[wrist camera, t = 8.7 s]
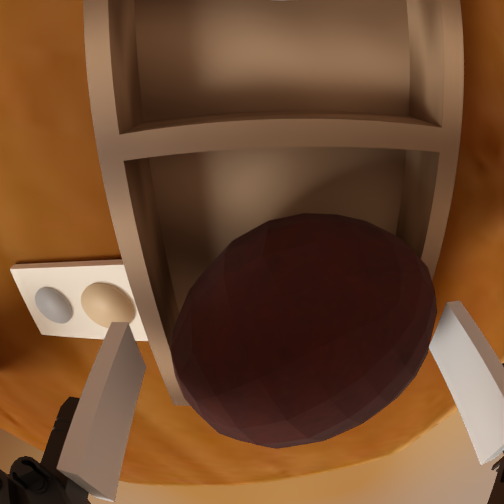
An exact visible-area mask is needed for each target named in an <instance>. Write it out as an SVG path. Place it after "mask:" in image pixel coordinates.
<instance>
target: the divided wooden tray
mask: <svg viewBox="0 0 504 504" xmlns="http://www.w3.org/2000/svg"><path fill="white" fill-rule="evenodd" d="M83 3H84V37H85V54H86V67H87V78H88V87H89V96H90V104H91V112H92V119H93V126H94V133H95V139H96V145H97V151H98V156H99V162H100V167H101V172H102V177H103V182H104V187H105V192H106V196H107V201H108V205H109V210H110V214H111V218H112V222H113V226H114V230H115V234H116V238H117V242H118V246H119V249H120V253H121V257H122V260H123V264H124V267H125V271H126V274H127V277H128V281H129V284H130V287H131V290H132V294H133V297H134V300H135V303H136V306H137V309H138V312H139V315H140V318H141V321H142V324H143V327H144V330H145V333H146V335H147V338H148V341H149V344H150V346H151V349H152V352H153V354H154V357H155V360H156V362H157V365H158V367H159V370H160V372H161V375H162V377H163V380H164V382H165V385H166V387H167V390H168V392H169V394H170V397H171V399H172V401H173V404H174V405H186V406H191V405H190V404H189V403H188V402H187V401H186V400H185V399H184V397H183V394H182V392H181V390H180V387H179V385H178V382H177V380H176V377H175V373H174V368H173V363H172V357H171V351H170V350H171V341H172V332H173V328H174V326H175V323H176V321H177V318H178V316H179V313H180V311H181V308H182V306H183V304H184V301H185V299H186V296H187V294H188V291H189V290H190V288H191V287H192V286H193V284H194V283H195V282H196V280H197V279H198V278H199V277H200V275H201V274H202V273H203V272H204V271H205V270H206V269H207V268H208V267H209V266H210V264H211V263H212V262H213V261H214V260H215V259H216V258H217V257H218V256H219V255H220V253H221V252H222V251H223V250H224V249H225V248H226V247H227V246H228V245H229V244H230V243H231V241H232V240H234V239H236V238H238V237H240V236H241V235H243V234H245V233H247V232H249V231H250V230H252V229H254V228H256V227H258V226H260V225H261V224H263V223H265V222H267V221H269V220H274V219H279V218H283V217H288V216H293V215H298V214H303V213H315V214H337V215H342V216H346V217H351V218H355V219H360V220H364V221H367V222H369V223H371V224H373V225H376V226H378V227H380V228H382V229H384V230H386V231H388V232H390V233H392V234H394V235H395V236H397V237H399V238H401V239H402V240H403V241H404V242H405V243H406V244H407V245H408V246H409V247H410V248H411V249H412V250H413V251H414V252H415V253H416V254H417V255H418V256H419V258H420V259H421V260H422V261H423V262H424V263H425V264H426V266H427V267H428V269H429V273H430V276H431V280H433V277H434V273H435V270H436V266H437V262H438V258H439V255H440V251H441V247H442V243H443V238H444V234H445V230H446V225H447V220H448V216H449V211H450V206H451V200H452V195H453V189H454V183H455V176H456V170H457V163H458V155H459V146H460V137H461V126H462V112H463V91H464V47H463V27H462V14H461V4H460V0H284V1H279V0H83Z"/></svg>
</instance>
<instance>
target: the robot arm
mask: <svg viewBox="0 0 504 504" xmlns="http://www.w3.org/2000/svg"><path fill="white" fill-rule="evenodd" d="M429 349H430V351H431V353H432V355H433V357H434V359H435V361H436V363H437V365H438V367H439V369H440V371H441V373H442V375H443V377H444V379H445V381H446V383H447V386H448V388H449V390H450V392H451V394H452V396H453V399H454V401H455V403H456V405H457V408H458V410H459V412H460V415H461V417H462V419H463V422H464V424H465V426H466V429H467V431H468V434H469V436H470V439H471V441H472V443H473V446H474V449H475V452H476V454H477V457H478V459H479V462H480V465H482V464H484V463H486V462H489V461H491V460H493V459H495V458H496V457H497V456H498V455H499V454H500V453H501V452H503V453H504V363H503V364H502V363H501V362H500V360H499V358H498V357H497V355H496V354H495V352H494V350H493V349H492V347H491V346H490V344H489V343H488V341H487V339H486V338H485V336H484V335H483V333H482V332H481V330H480V329H479V327H478V326H477V324H476V323H475V321H474V320H473V319H472V317H471V316H470V314H469V313H468V311H467V310H466V308H465V307H464V306H463V304H462V303H461V301H453V302H447V303H446V305H445V308H444V311H443V313H442V316H441V319H440V321H439V324H438V326H437V329H436V331H435V334H434V336H433V339H432V341H431V343H430V346H429ZM145 369H146V365H145V363H144V361H143V358H142V356H141V353H140V351H139V348H138V346H137V343H136V341H135V338H134V336H133V333H132V331H131V328H130V325H129V323H128V322H111V324H110V327H109V329H108V331H107V333H106V336H105V338H104V340H103V343H102V345H101V347H100V350H99V352H98V354H97V357H96V359H95V362H94V364H93V367H92V369H91V372H90V374H89V377H88V379H87V382H86V384H85V387H84V389H83V392H82V395H81V397H80V398H75V397H69V398H68V399H67V400H66V401H65V403H64V404H63V405H62V406H61V408H60V410H59V413H58V416H57V418H56V419H57V421H55V424H54V426H53V430H52V432H51V434H50V437H49V440H48V443H47V446H46V449H45V452H44V455H43V458H42V461H41V463H38V462H37V461H36V460H34V459H33V458H31V457H27V456H24V457H20V458H18V459H17V460H16V461H14V463H13V465H12V466H11V469H10V474H6V473H5V472H3V471H2V470H0V504H91V503H90V502H89V501H88V499H87V498H88V493H90V494H91V495H93V496H94V497H96V498H99V499H103V500H107V501H112V502H115V498H116V493H117V487H118V482H119V477H120V473H121V468H122V463H123V458H124V454H125V449H126V445H127V441H128V436H129V432H130V428H131V424H132V419H133V415H134V411H135V407H136V403H137V399H138V395H139V392H140V388H141V384H142V380H143V377H144V373H145ZM499 465H500V466H499ZM498 466H499V468H498V469H497V470H496V471H497V472H498V473H497V476H496V480H495V483H494V486H493V489H492V492H491V495H490V498H489V501H488V503H487V504H504V456H503V457H502V458H501V459H500V460H499V461H498V462H496V463H495V464H494V465H493V467H492V470H494V469H495V468H496V467H498Z"/></svg>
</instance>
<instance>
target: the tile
mask: <svg viewBox="0 0 504 504" xmlns="http://www.w3.org/2000/svg"><path fill="white" fill-rule="evenodd" d="M10 271H11V273H12V275H13V278H14V280H15V282H16V284H17V287H18V289H19V291H20V293H21V295H22V297H23V299H24V301H25V303H26V305H27V307H28V309H29V311H30V313H31V315H32V317H33V319H34V321H35V323H36V325H37V327H38V329H39V330H40V332H41V334H42V335H51V336H62V337H75V338H90V339H104V338H105V336H106V333H107V331H108V329H109V327H110V324H111V322H128V323H129V325H130V328H131V331H132V333H133V336H134V338H135V341H148V338H147V335H146V333H145V330H144V327H143V324H142V321H141V318H140V315H139V312H138V309H137V306H136V303H135V300H134V297H133V294H132V290H131V287H130V284H129V281H128V277H127V274H126V271H125V267H124V264H123V260H122V259H115V260H94V261H73V262H52V263H31V264H14V265H13V266H12V267H11V268H10Z"/></svg>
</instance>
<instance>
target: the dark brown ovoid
mask: <svg viewBox="0 0 504 504" xmlns="http://www.w3.org/2000/svg"><path fill="white" fill-rule="evenodd" d="M436 314H437V308H436V298H435V291H434V287H433V283H432V280H431V276H430V273H429V269H428V267H427V266H426V264H425V263H424V262H423V261H422V260H421V259H420V258H419V256H418V255H417V254H416V253H415V252H414V251H413V250H412V249H411V248H410V247H409V246H408V245H407V244H406V243H405V242H404V241H403V240H402V239H401V238H399V237H397V236H395V235H394V234H392V233H390V232H388V231H386V230H384V229H382V228H380V227H378V226H376V225H373V224H371V223H369V222H367V221H364V220H360V219H355V218H351V217H346V216H342V215H337V214H315V213H303V214H298V215H293V216H288V217H283V218H279V219H274V220H269V221H267V222H265V223H263V224H261V225H260V226H258V227H256V228H254V229H252V230H250V231H249V232H247V233H245V234H243V235H241V236H240V237H238V238H236V239H234V240H232V241H231V243H230V244H229V245H228V246H227V247H226V248H225V249H224V250H223V251H222V252H221V253H220V255H219V256H218V257H217V258H216V259H215V260H214V261H213V262H212V263H211V264H210V266H209V267H208V268H207V269H206V270H205V271H204V272H203V273H202V274H201V275H200V277H199V278H198V279H197V280H196V282H195V283H194V284H193V286H192V287H191V288H190V290H189V291H188V294H187V296H186V299H185V301H184V304H183V306H182V308H181V311H180V313H179V316H178V318H177V321H176V323H175V326H174V328H173V332H172V341H171V350H170V351H171V357H172V363H173V368H174V373H175V377H176V380H177V382H178V385H179V387H180V390H181V392H182V394H183V397H184V399H185V400H186V401H187V402H188V403H189V404H190V405H191V406H192V408H193V409H194V410H195V411H196V412H197V413H198V414H199V415H200V416H201V417H202V418H203V419H204V420H205V421H206V422H207V423H208V424H210V425H211V426H212V427H213V428H214V429H215V430H216V431H217V432H218V433H220V434H223V435H225V436H228V437H231V438H234V439H236V440H240V441H244V442H249V443H252V444H256V445H260V446H265V447H271V448H284V447H291V446H297V445H303V444H309V443H315V442H320V441H324V440H327V439H329V438H332V437H334V436H336V435H338V434H341V433H343V432H345V431H347V430H350V429H352V428H354V427H356V426H358V425H360V424H362V423H364V422H365V421H367V420H368V419H370V418H371V417H373V416H374V415H375V414H377V413H378V412H379V411H381V410H382V409H383V408H385V407H386V406H387V405H389V404H390V403H391V402H392V401H394V400H395V399H396V398H397V397H398V396H399V395H400V394H401V393H402V392H403V391H404V389H405V388H406V387H407V386H408V385H409V384H410V382H411V381H412V380H413V379H414V378H415V376H416V375H417V373H418V371H419V369H420V367H421V365H422V363H423V361H424V359H425V357H426V356H427V354H428V349H429V344H430V340H431V336H432V332H433V327H434V323H435V318H436Z"/></svg>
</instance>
